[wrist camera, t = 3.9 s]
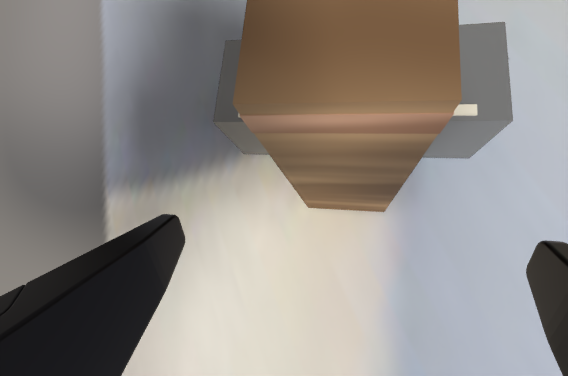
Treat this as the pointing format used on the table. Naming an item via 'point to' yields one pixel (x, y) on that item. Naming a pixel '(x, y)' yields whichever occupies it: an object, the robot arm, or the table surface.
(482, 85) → the gray block
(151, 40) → the table surface
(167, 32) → the table surface
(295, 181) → the panel
